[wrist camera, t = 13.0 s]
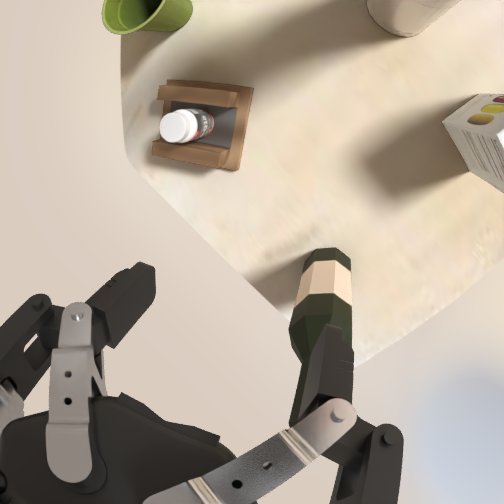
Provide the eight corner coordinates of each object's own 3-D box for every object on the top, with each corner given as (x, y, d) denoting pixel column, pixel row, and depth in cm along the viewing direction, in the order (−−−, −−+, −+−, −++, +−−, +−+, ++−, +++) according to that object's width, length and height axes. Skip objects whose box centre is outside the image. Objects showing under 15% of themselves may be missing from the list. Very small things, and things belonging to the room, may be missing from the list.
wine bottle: (298, 281, 50) (253, 438, 25) (311, 240, 46) (271, 403, 21) (343, 293, 49) (328, 455, 24) (359, 254, 45) (364, 424, 19)
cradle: (171, 79, 39) (151, 78, 34) (253, 88, 37) (242, 85, 32) (162, 153, 46) (143, 160, 41) (238, 169, 44) (226, 177, 39)
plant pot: (209, -20, 29) (175, -46, 19) (203, 39, 34) (164, 25, 25) (148, -8, 31) (107, -23, 21) (141, 48, 37) (97, 42, 27)
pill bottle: (210, 141, 41) (183, 150, 34) (183, 133, 41) (154, 140, 34) (218, 112, 38) (192, 114, 31) (190, 104, 39) (160, 107, 32)
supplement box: (479, 92, 26) (543, 93, 12) (506, 143, 28) (570, 169, 14) (439, 121, 31) (495, 134, 17) (468, 173, 33) (525, 212, 19)
